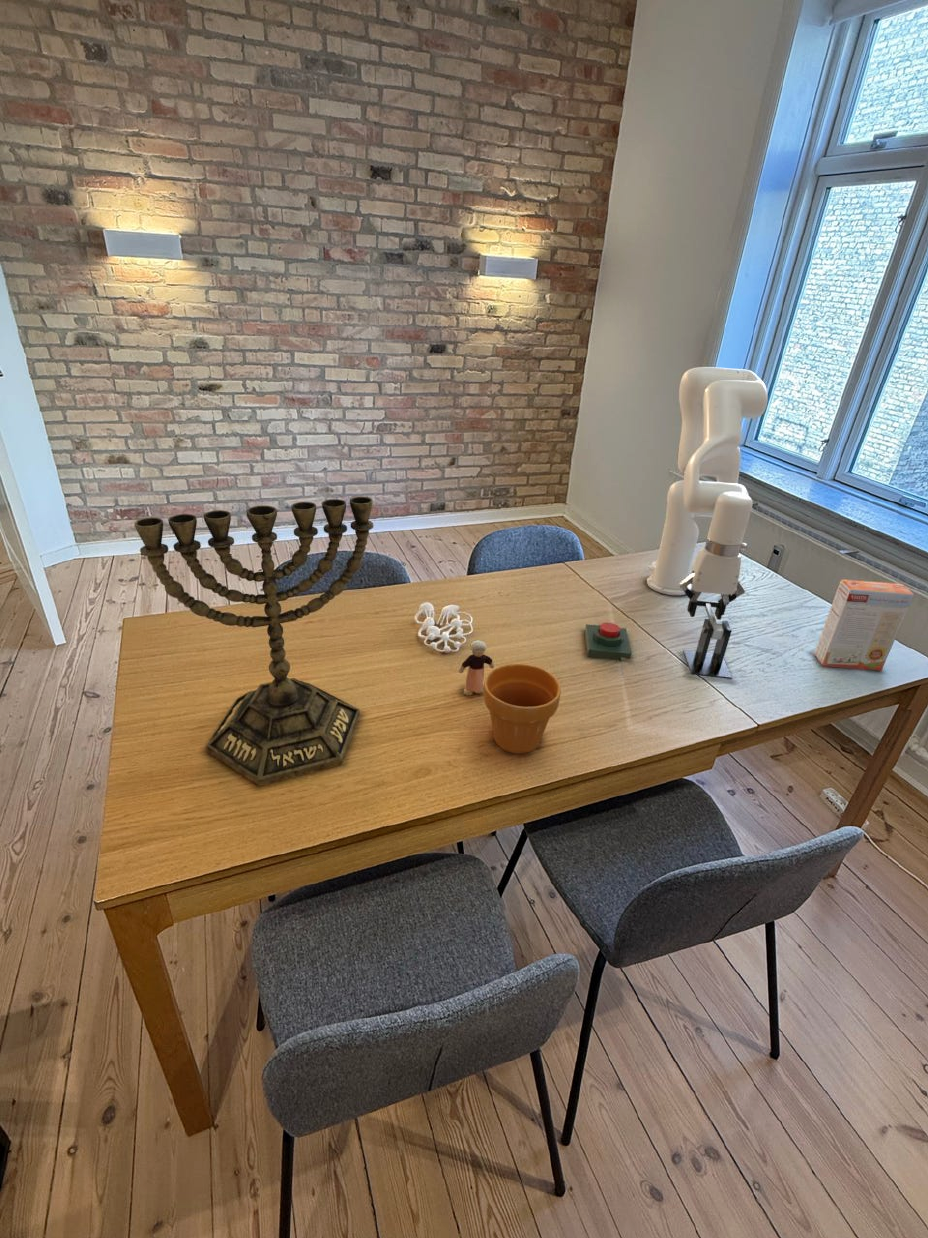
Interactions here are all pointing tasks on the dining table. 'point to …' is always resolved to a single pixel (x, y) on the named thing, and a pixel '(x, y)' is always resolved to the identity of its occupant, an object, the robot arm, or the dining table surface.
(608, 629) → the red button
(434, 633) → the tangled rod sculpture
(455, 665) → the dining table surface
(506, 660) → the dining table surface
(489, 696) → the flower pot
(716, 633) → the switch lever
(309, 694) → the menorah
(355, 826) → the dining table surface
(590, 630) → the button box
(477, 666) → the grandmother figurine
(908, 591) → the cracker box
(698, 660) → the switch bracket
